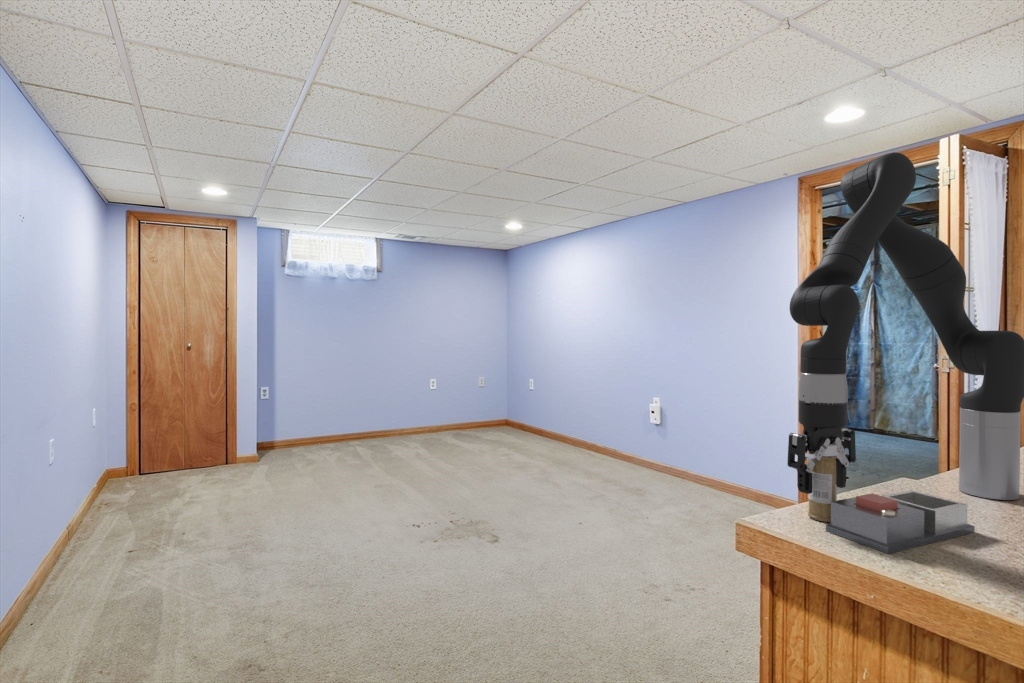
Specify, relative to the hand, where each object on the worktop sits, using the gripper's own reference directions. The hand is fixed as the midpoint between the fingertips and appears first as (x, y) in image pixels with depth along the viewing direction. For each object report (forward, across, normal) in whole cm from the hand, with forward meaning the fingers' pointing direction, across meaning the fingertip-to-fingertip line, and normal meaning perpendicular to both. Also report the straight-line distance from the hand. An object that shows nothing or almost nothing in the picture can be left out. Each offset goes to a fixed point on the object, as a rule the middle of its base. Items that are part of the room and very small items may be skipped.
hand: (822, 489), depth 95 cm
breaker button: (+4, 0, +10) cm, 10 cm away
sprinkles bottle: (+5, 0, 0) cm, 5 cm away
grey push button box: (+5, -6, +10) cm, 12 cm away
